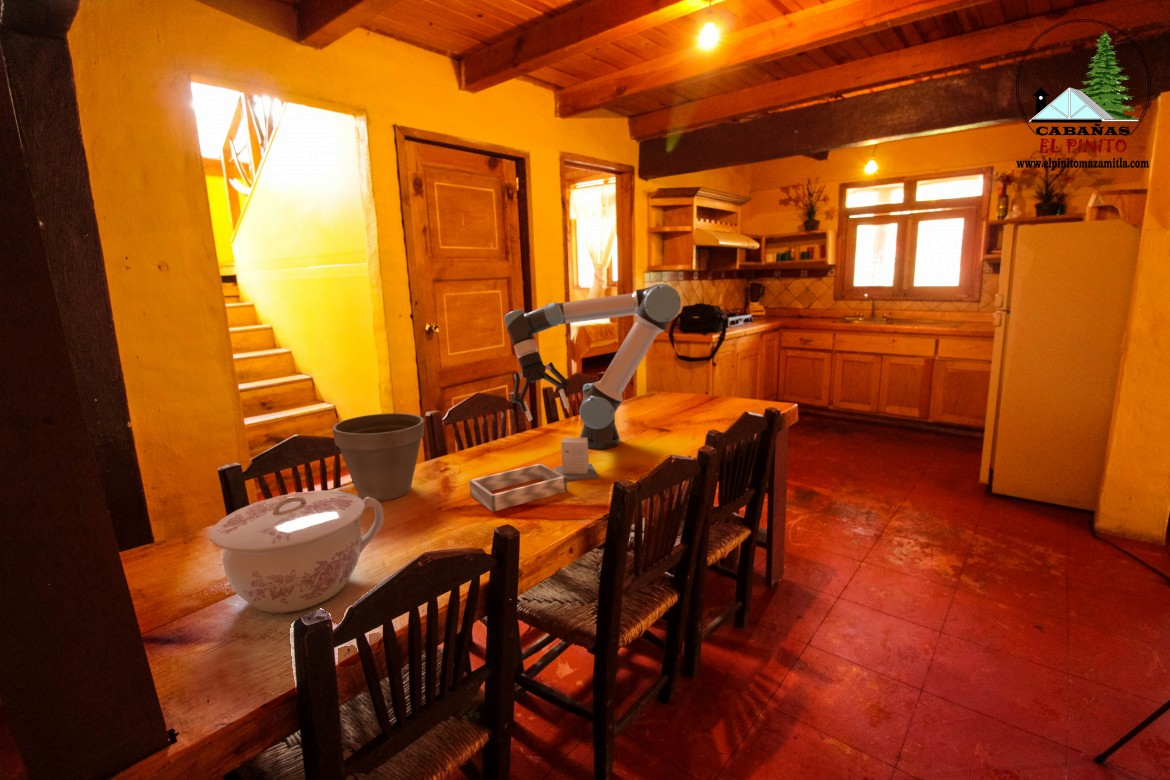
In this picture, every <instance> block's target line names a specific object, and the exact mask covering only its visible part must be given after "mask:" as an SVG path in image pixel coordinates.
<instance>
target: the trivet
mask: <svg viewBox="0 0 1170 780" xmlns="http://www.w3.org/2000/svg"><path fill="white" fill-rule="evenodd" d="M554 468H555V471H557V472H558V473H560V474H562V475H564V476H566V477H567V482H573V481H574V482H575V481H584V480H585V481H586V480H597V479H599V474H598V473H597V471H596V469H595V467H594V466H593V464H592V463H589V468H588V472H587V474H563V470H562V465H558V466H555V467H554Z"/></svg>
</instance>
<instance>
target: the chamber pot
mask: <svg viewBox="0 0 1170 780" xmlns="http://www.w3.org/2000/svg"><path fill="white" fill-rule="evenodd" d="M367 508H373V511H374V515H375V516H374V521H373V523H372V525H371V526H370V528H369V530H368V531H367V532H366V533H365V534H364V535H363V536H362V532H361V531H362V530H361V527H360V524H361V516H363V514H364V512H365V509H367ZM384 518H385V513H384V508H383V505H382V504H381V503H380V501H377V500H375V499H374V498H371V497H365V498H364V499H362V498H360V497H359V495H355V494H353V493H351V492H346V491H340V490H311V491H302V492H301V491H300V492H293V493H288V494H283V495H277V496H274V497H271V498H266V499H264V500H260V501H257V502H256V501H255V502H254V503H252V504H251V503H250V505H249V504H248V505H245V506H244V507H241V508H239V509H236V510H235V511H232V512H231V513H229V514H228V515H226V516H224V517H222V518H221V519H220V520H219V521H218V522H217V523H216V524H214V526H213V527H212V528H211V529H210V531H209V532H210V533H209V539H208V540H209V541H210V542H211V543H213V545H214V546H215V547H218V548H219V549H223V554H222V563H223V564H222V565H223V569H224V574H225V576H226V578H227V580H228V583H229V584H230V587H231V589H232V590H233V591H234V592H235V594H237V595H238V596H239V597H240V598H241V599H243V600H244V601H245V602H246V603H247V604H248V605H250V606H251V607H253V608H254V609H257V610H259V611H263V612H266V613H270V614H271V613H272V614H273V613H275V614H276V613H277V614H285V613H286V614H287V613H292V612H298V611H302V610H305V609H309V608H312V607H315V606H317V605H319V604H321V603H324V602H326V601H327V600H329V599H330V598H332V597H334V596H335V595H336V594H338V593H340V591H341V590H342V589H343V588H344V587H345V586H346V585H347V583H348V582H349V581H350V578H351V576H352V574H353V573H354V571H355V569H356V567H357V565H358V562H359V560H360V556H361V553H362V552H363V551H364V549H365V548H366V546H367V545H368V544H369V543H370V542H371V541H372V540H373V539H374V538H375V537H376V536H377V534H378V532H379V531H380V530H381V528H382V526H383V524H384Z"/></svg>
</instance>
